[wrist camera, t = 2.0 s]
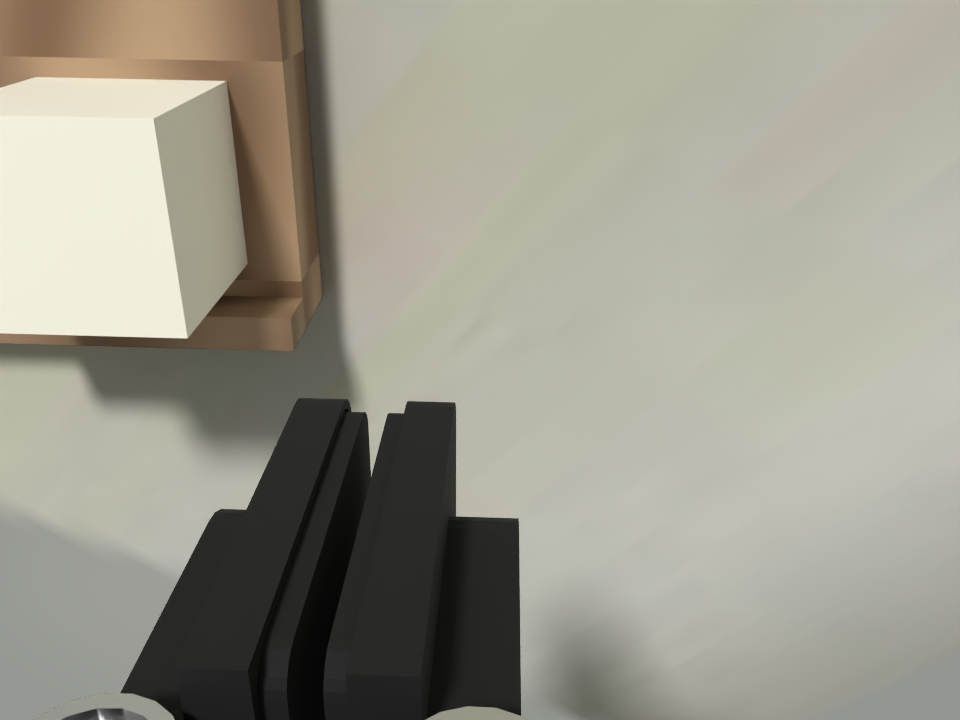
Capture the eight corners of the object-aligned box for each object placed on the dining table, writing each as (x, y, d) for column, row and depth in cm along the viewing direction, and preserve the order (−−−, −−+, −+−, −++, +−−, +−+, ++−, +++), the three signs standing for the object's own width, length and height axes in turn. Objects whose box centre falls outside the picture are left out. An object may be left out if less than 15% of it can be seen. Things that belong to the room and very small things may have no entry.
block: (226, 80, 22) (153, 118, 17) (247, 263, 24) (187, 338, 20) (35, 77, 22) (-86, 113, 18) (74, 259, 24) (-25, 332, 20)
